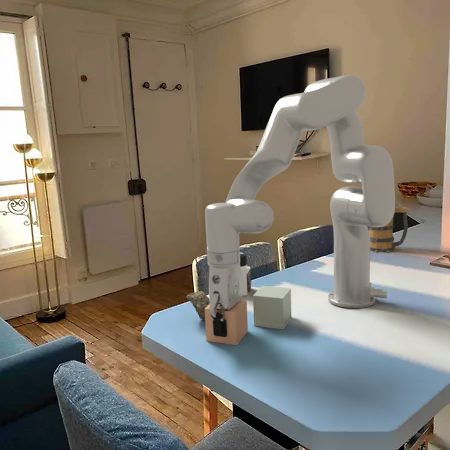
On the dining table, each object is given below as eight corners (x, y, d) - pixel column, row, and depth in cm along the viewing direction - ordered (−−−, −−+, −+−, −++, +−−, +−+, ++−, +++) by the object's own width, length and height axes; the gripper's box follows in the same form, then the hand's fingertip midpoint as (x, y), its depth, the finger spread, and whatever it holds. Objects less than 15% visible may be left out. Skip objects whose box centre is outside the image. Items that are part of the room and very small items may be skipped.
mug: (369, 245, 184) (369, 197, 180) (413, 249, 174) (414, 199, 171) (358, 252, 174) (359, 202, 170) (404, 257, 164) (406, 204, 160)
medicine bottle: (248, 296, 132) (246, 257, 129) (224, 295, 133) (222, 257, 131) (251, 288, 139) (250, 251, 136) (229, 287, 140) (227, 250, 138)
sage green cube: (291, 317, 115) (290, 288, 113) (283, 329, 108) (282, 298, 106) (263, 314, 118) (262, 285, 116) (254, 325, 111) (252, 295, 109)
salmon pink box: (247, 331, 108) (246, 300, 106) (236, 345, 101) (235, 311, 99) (219, 327, 111) (217, 297, 109) (206, 340, 104) (204, 308, 102)
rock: (183, 290, 112) (198, 281, 113) (188, 301, 119) (202, 291, 120) (198, 313, 109) (213, 303, 110) (202, 322, 116) (216, 312, 117)
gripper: (224, 268, 93) (227, 347, 96) (251, 248, 108) (253, 316, 112) (192, 266, 96) (196, 342, 99) (223, 247, 111) (226, 313, 115)
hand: (227, 328), depth 105 cm, fingers closed on salmon pink box, 7 cm apart
